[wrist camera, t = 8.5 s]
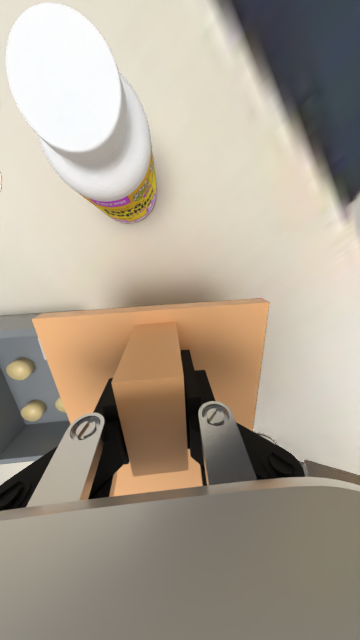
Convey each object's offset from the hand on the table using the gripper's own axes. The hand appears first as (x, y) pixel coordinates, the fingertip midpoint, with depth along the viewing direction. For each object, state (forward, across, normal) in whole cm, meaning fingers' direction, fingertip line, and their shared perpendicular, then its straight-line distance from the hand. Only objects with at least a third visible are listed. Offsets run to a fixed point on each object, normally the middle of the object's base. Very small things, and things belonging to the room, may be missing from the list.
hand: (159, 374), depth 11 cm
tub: (+14, +17, +8) cm, 24 cm away
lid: (+2, 0, +6) cm, 6 cm away
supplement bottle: (+15, +3, -14) cm, 20 cm away
